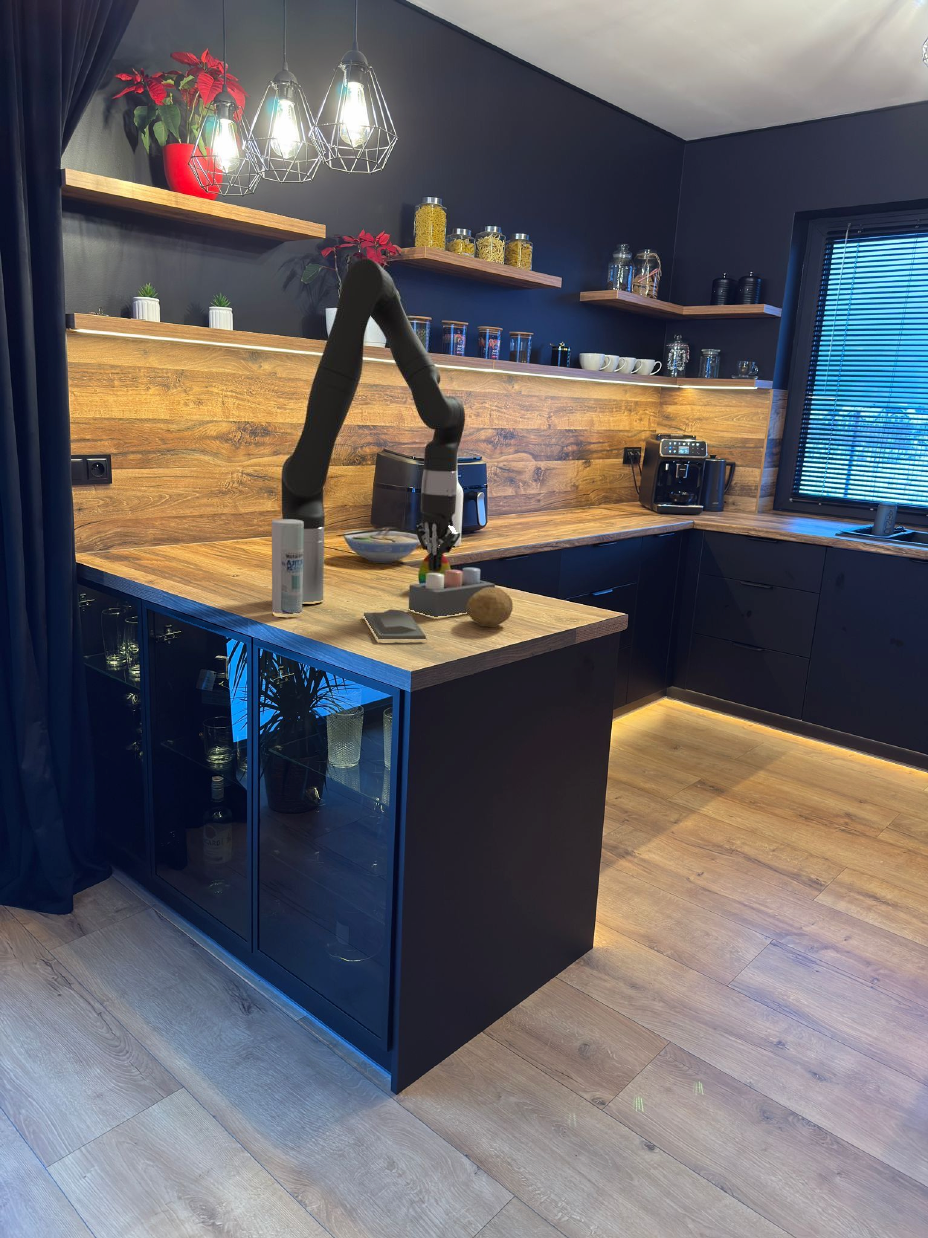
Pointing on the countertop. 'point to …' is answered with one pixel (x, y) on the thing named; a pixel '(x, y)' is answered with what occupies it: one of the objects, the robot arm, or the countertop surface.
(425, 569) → the decorative egg
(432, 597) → the grey rectangular block
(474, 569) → the blue grey egg
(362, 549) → the ramen bowl
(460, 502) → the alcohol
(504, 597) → the potato
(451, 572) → the brown egg
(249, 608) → the countertop surface
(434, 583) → the white egg
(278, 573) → the spray can
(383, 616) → the soap mold
